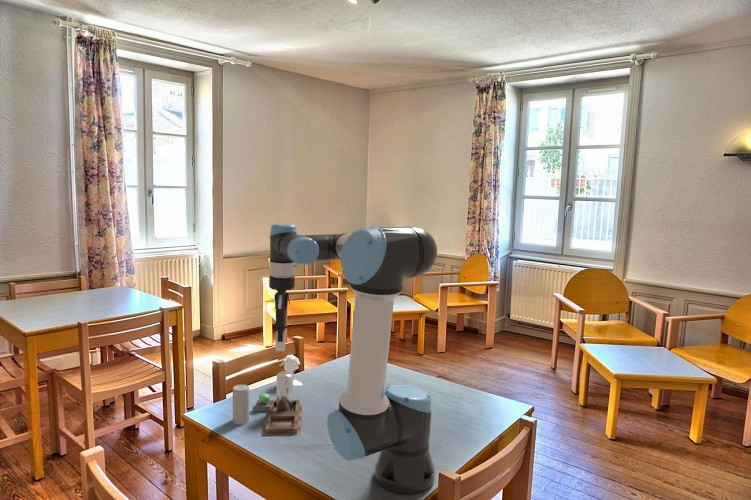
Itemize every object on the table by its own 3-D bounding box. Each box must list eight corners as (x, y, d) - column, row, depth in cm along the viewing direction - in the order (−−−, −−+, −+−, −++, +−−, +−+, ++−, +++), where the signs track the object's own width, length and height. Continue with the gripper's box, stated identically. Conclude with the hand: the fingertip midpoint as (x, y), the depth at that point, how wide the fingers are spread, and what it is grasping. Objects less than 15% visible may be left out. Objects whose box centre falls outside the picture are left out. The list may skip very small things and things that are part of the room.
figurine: (271, 388, 180) (271, 356, 178) (289, 381, 187) (290, 349, 185) (289, 395, 175) (290, 362, 173) (307, 387, 182) (308, 355, 180)
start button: (269, 401, 160) (269, 397, 160) (258, 402, 160) (258, 397, 159) (269, 397, 163) (270, 393, 163) (259, 397, 163) (259, 393, 162)
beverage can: (238, 430, 149) (238, 392, 148) (229, 425, 153) (229, 387, 151) (252, 425, 153) (252, 387, 151) (243, 419, 156) (243, 382, 155)
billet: (292, 414, 158) (292, 377, 156) (275, 414, 157) (276, 377, 156) (292, 407, 163) (293, 371, 161) (277, 407, 162) (277, 371, 160)
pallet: (300, 439, 146) (300, 429, 146) (248, 440, 144) (248, 430, 144) (302, 408, 166) (302, 399, 165) (257, 408, 164) (257, 399, 164)
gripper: (293, 280, 146) (291, 358, 150) (296, 271, 158) (293, 343, 162) (266, 279, 145) (265, 358, 149) (271, 270, 158) (270, 342, 162)
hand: (280, 350), depth 156 cm, fingers closed
